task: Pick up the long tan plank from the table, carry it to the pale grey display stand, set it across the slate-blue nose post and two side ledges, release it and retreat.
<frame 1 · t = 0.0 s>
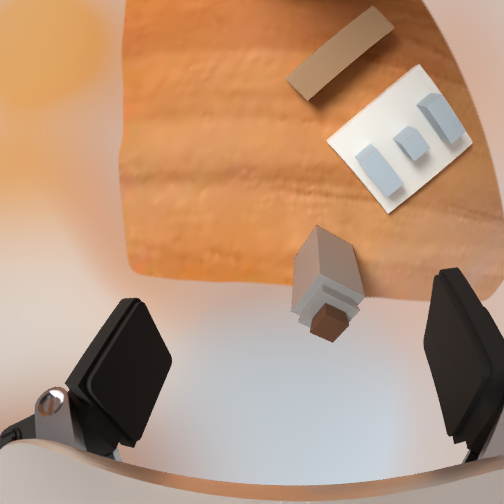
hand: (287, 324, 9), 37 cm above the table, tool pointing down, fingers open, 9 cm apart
perfume bottle: (323, 250, 50), on the table
long tan plank: (337, 53, 35), on the table
display stand: (403, 138, 39), on the table
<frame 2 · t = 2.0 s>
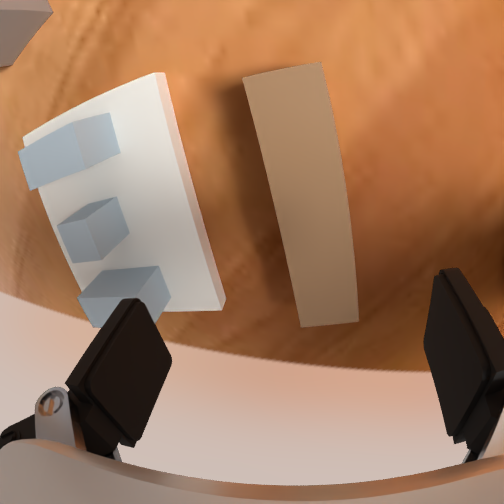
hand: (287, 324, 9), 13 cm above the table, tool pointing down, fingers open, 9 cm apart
perfume bottle: (22, 17, 16), on the table
long tan plank: (313, 192, 20), on the table
display stand: (118, 210, 23), on the table
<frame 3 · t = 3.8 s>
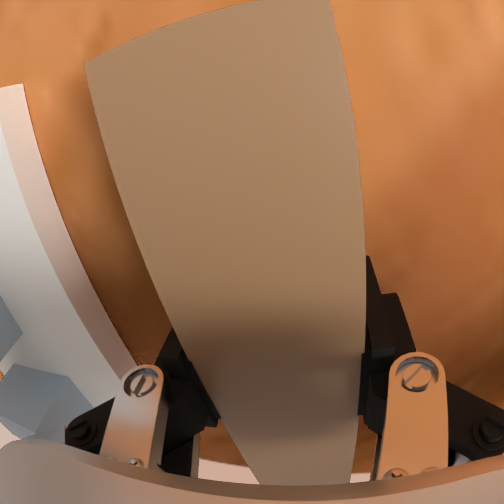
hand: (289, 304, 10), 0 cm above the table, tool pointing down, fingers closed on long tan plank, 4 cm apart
long tan plank: (290, 297, 11), on the table, touching gripper
display stand: (12, 293, 14), on the table
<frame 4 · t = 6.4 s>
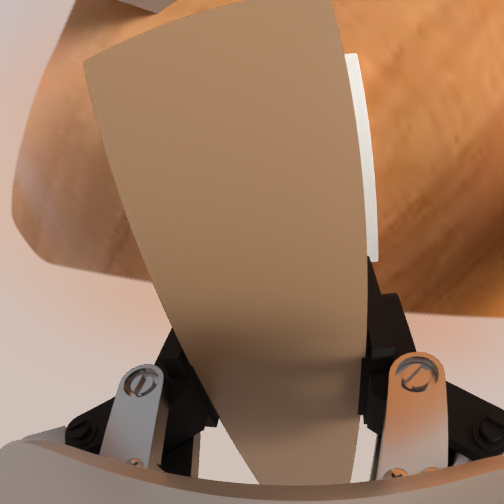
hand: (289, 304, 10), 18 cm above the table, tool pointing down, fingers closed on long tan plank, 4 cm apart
long tan plank: (290, 297, 11), point 18 cm above the table, touching gripper
display stand: (288, 169, 26), on the table
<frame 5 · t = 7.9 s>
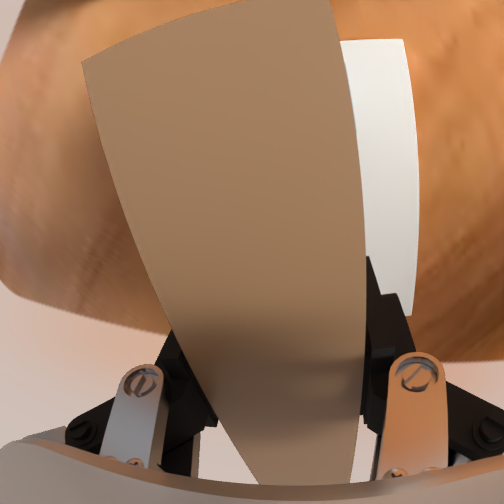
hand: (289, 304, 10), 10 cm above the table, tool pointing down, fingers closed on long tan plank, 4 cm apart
long tan plank: (289, 297, 11), point 10 cm above the table, touching gripper
display stand: (302, 198, 19), on the table
when the fingers open (7 cm above the table, at t = 9.3 s): long tan plank stays where it is, resting on display stand.
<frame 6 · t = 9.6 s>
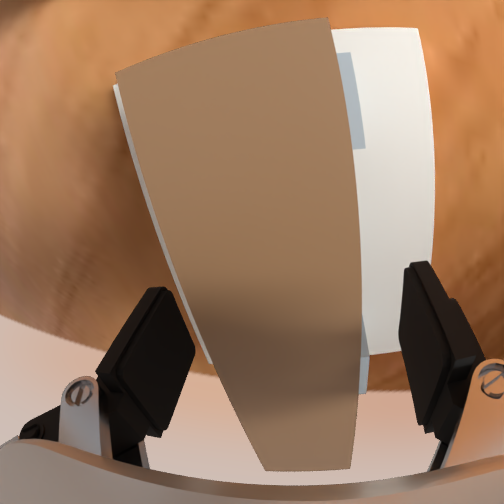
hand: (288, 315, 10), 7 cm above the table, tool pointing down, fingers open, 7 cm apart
long tan plank: (293, 287, 12), point 5 cm above the table, touching display stand
display stand: (295, 220, 16), on the table
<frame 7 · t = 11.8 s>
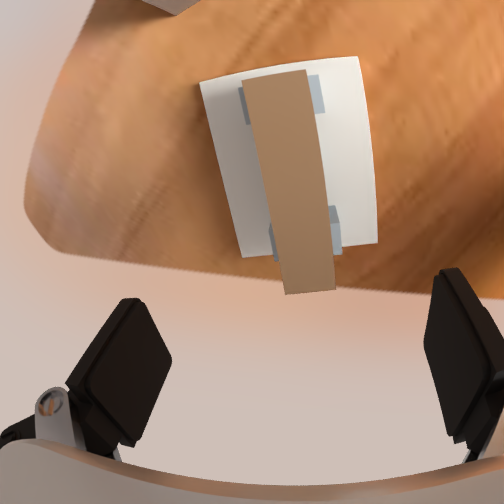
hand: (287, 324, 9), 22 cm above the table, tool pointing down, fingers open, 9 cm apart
long tan plank: (296, 177, 24), point 5 cm above the table, touching display stand
display stand: (296, 159, 29), on the table
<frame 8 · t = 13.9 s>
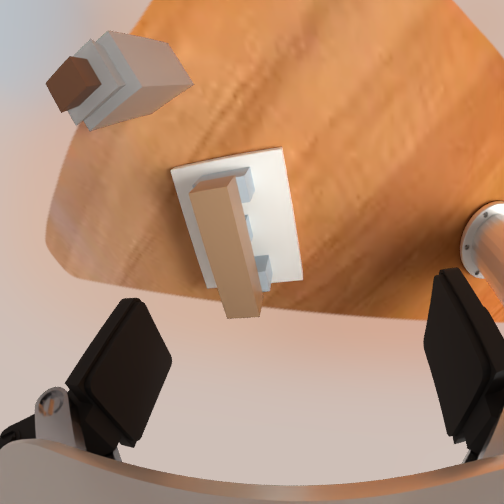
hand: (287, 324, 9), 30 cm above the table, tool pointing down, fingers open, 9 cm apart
perfume bottle: (159, 78, 34), on the table
long tan plank: (233, 243, 37), point 5 cm above the table, touching display stand
display stand: (241, 222, 42), on the table
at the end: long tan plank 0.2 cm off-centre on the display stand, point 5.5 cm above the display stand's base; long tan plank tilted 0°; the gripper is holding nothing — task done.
